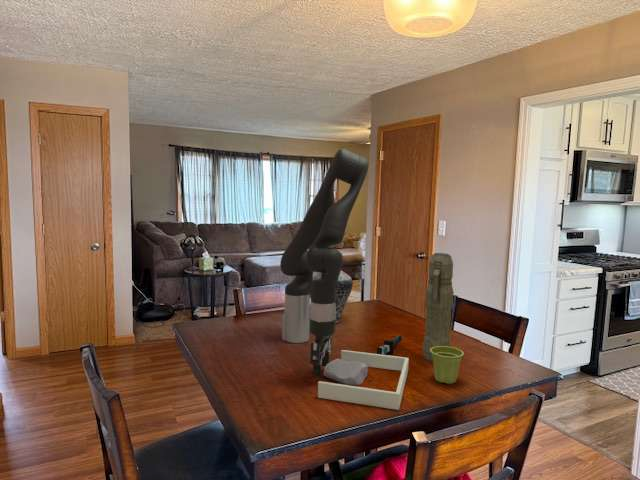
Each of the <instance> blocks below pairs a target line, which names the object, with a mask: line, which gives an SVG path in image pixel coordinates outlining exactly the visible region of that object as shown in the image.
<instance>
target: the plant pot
mask: <svg viewBox="0 0 640 480" xmlns="http://www.w3.org/2000/svg"><path fill="white" fill-rule="evenodd" d="M430 352H431V353H432V357H433V362H432V365H433V372H434V373H433V374H434V380H435V381H437V382H438V383H441V384H443V383H445V384H446V385H450V384H455V383H456V382H457V380H458V374H459V370H460V365H461V361H462V358H463V356H465V355H464V354H465V353H464V351H463V350H461V349H459V348H457V347H453V346H451V347H448V346H436V347H432V348H431V349H430Z"/></svg>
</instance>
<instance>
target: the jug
mask: <svg viewBox="0 0 640 480" xmlns="http://www.w3.org/2000/svg"><path fill="white" fill-rule="evenodd" d="M340 253H341V254H342V256H343V252H341V251H340ZM326 275H327V273H321V272H313V280H312V283H313V282H315V281H318V280H324V279H325V278H326ZM353 285H354V283H353V279H352V277H351V276H350V275H349V274H348V273H346V272H345V271H343V270H342V269H341V271H340V274H339V278H338V281H337V285H336V296H335V306H336V322H335V324H337V323H339V322H340V321H341V318H342V313H343V310H344V308H345V305H346V303H347V301H348V299H349V297H350V295H351V293H352V289H353ZM310 299H311V289H310Z"/></svg>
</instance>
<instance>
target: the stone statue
mask: <svg viewBox="0 0 640 480" xmlns="http://www.w3.org/2000/svg"><path fill="white" fill-rule="evenodd" d="M428 262H429V263H428V281H427V285H426V289H425V299H424V300H425V301H424V303H425V308H426V311H425V312H426V313H425V314H426V315H425V329H424V331H425V332H424V338H423V341H422V351H423V353H422V358H423V359H424V360H426V361H428V362H432V363H433V357H432V353H431V352H430V349H431V348H432V347H436V346H448V347H452V343H451V342H452V341H451V340H452V339H451V319H452V315H451V314H452V309H453V307H454V288H453V282H452V279H453V277H454V276H453V275H454V273H453V271H454V270H453V269H454V261H453V257H452V255H450V254H449V253H443V252H435V253H433V254H432V255H431V256H430V259H429V261H428Z"/></svg>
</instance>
